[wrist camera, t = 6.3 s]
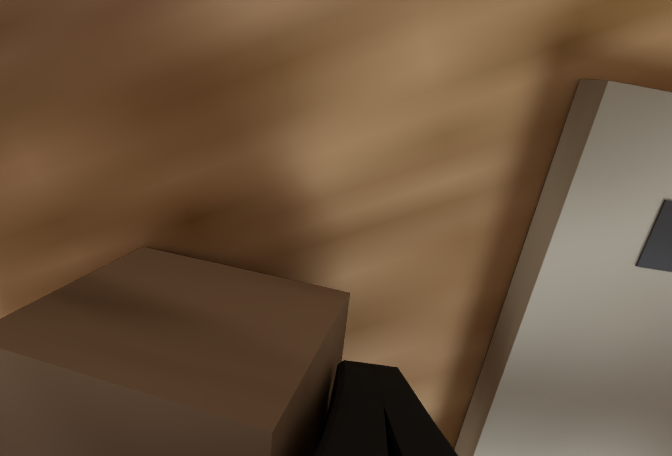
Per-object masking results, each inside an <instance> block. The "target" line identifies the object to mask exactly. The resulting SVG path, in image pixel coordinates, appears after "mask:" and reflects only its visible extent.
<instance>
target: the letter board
mask: <svg viewBox="0 0 672 456" xmlns="http://www.w3.org/2000/svg"><path fill="white" fill-rule="evenodd" d="M454 450H455V452H456V453H457V455H458V456H672V92H667V91H662V90H657V89H651V88H646V87H641V86H636V85H630V84H625V83H620V82H614V81H609V80H591V79H580V81H579V84H578V87H577V90H576V93H575V96H574V99H573V101H572V104H571V107H570V110H569V113H568V116H567V119H566V122H565V125H564V128H563V131H562V134H561V137H560V140H559V143H558V146H557V149H556V152H555V155H554V157H553V160H552V163H551V166H550V169H549V172H548V175H547V178H546V181H545V184H544V187H543V190H542V193H541V196H540V199H539V202H538V205H537V208H536V210H535V213H534V216H533V219H532V222H531V225H530V228H529V231H528V234H527V237H526V240H525V243H524V246H523V249H522V252H521V255H520V258H519V261H518V263H517V266H516V269H515V272H514V275H513V278H512V281H511V284H510V287H509V290H508V293H507V296H506V299H505V302H504V305H503V308H502V311H501V314H500V316H499V319H498V322H497V325H496V328H495V331H494V334H493V337H492V340H491V343H490V346H489V349H488V352H487V355H486V358H485V361H484V364H483V367H482V369H481V372H480V375H479V378H478V381H477V384H476V387H475V390H474V393H473V396H472V399H471V402H470V405H469V408H468V411H467V414H466V417H465V420H464V422H463V425H462V428H461V431H460V434H459V437H458V440H457V443H456V446H455V449H454Z"/></svg>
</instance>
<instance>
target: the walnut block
mask: <svg viewBox="0 0 672 456" xmlns="http://www.w3.org/2000/svg"><path fill="white" fill-rule="evenodd" d="M349 296H350V293H348V292H344V291H339V290H335V289H330V288H326V287H321V286H317V285H312V284H308V283H303V282H299V281H294V280H290V279H285V278H281V277H276V276H272V275H267V274H263V273H258V272H254V271H249V270H245V269H240V268H236V267H231V266H227V265H223V264H218V263H214V262H209V261H205V260H200V259H196V258H191V257H187V256H182V255H178V254H173V253H169V252H164V251H160V250H155V249H151V248H146V247H141V248H139V249H137V250H135V251H133V252H131V253H129V254H127V255H125V256H123V257H121V258H119V259H117V260H115V261H113V262H111V263H109V264H107V265H105V266H103V267H101V268H99V269H97V270H96V271H94V272H92V273H90V274H88V275H86V276H84V277H82V278H80V279H78V280H76V281H74V282H72V283H70V284H68V285H66V286H64V287H62V288H60V289H58V290H56V291H54V292H52V293H50V294H48V295H46V296H44V297H42V298H40V299H39V300H37V301H35V302H33V303H31V304H29V305H27V306H25V307H23V308H21V309H19V310H17V311H15V312H13V313H11V314H9V315H7V316H5V317H3V318H1V319H0V456H315V454H316V451H317V449H318V447H319V444H320V442H321V439H322V437H323V434H324V430H325V424H326V418H327V413H328V408H329V403H330V398H331V393H332V388H333V384H334V379H335V374H336V369H337V364H339V363H340V362H341V361H342V353H343V345H344V337H345V329H346V321H347V313H348V304H349Z"/></svg>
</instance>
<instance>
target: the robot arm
mask: <svg viewBox="0 0 672 456" xmlns="http://www.w3.org/2000/svg"><path fill="white" fill-rule="evenodd" d="M315 456H458V455H457V453H456V452H455V450H454V449H453V448H452V446H451V445H450V444H449V442H448V441H447V439H446V438H445V437H444V435H443V434H442V433H441V431H440V430H439V428H438V427H437V425H436V424H435V423H434V421H433V420H432V418H431V417H430V415H429V414H428V412H427V411H426V409H425V408H424V406H423V405H422V403H421V402H420V400H419V399H418V397H417V396H416V394H415V393H414V391H413V390H412V388H411V387H410V385H409V384H408V382H407V381H406V379H405V378H404V376H403V375H402V373H401V372H400V370H399V369H398V368H397V367H390V366H383V365H376V364H368V363H361V362H353V361H346V360H344V361H342V362H340V363H339V364H337V369H336V374H335V379H334V384H333V388H332V393H331V398H330V403H329V408H328V413H327V418H326V424H325V430H324V434H323V437H322V439H321V442H320V444H319V447H318V449H317V451H316V454H315Z"/></svg>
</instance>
